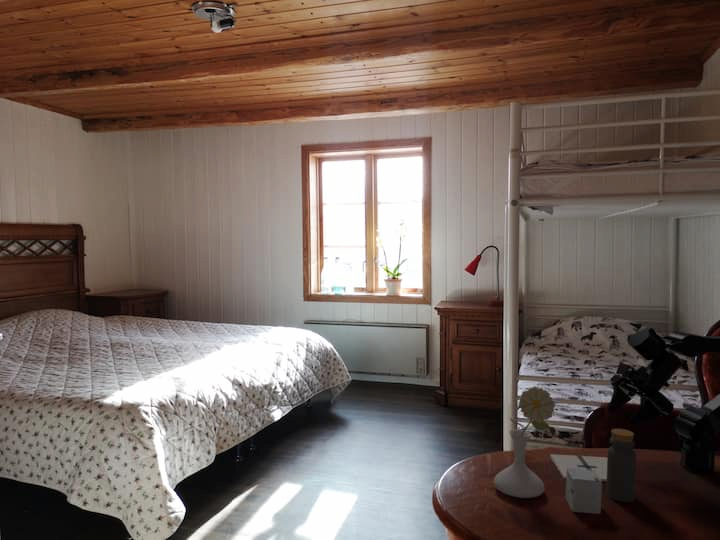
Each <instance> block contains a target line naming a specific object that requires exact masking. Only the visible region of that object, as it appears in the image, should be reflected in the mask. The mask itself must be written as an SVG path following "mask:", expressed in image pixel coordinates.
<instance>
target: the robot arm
mask: <svg viewBox="0 0 720 540" xmlns="http://www.w3.org/2000/svg"><path fill="white" fill-rule="evenodd" d="M628 346H629V347H631V348H632V350H634V351H635V352H636V353H637V354H638V355H639V356H640V357H641V358H643V360H644V361H650V362H649V363H648V364H647V365H646V366H644V365H642V366H641V364H640V365H639V364H636V365H635V366H631V365H629V364H627V363H624V362H622V361H620V362H619V363H618V367H617V369H616V372H615V374H614V375H613V376H612V377H610V379H609V381H610V382H611V383H610V385H611V386H612V389H613V390H612V391H613V392H612V397H610V398H611V399H610V401H609V404H608V406H607V409H606V413H608V414H613V413H614V412H616V411H617V410H619V409H620V408H621V407H624V406H625V405H626V404H627V403H629V402H631V401H632V400H633V397H635V396H639V397H640V400H639V405H638V407H637V408H636V409H635V411H634V412H633V414H632V415H631V416H630V418H629V419H628V421H627V424H628V425H629V426H634V425H637V424H639V423H642V422H645V421H647V420H649V419H650V420H651V419H652V418H656V417H660V416H662V417H663V416H664V415H667V416H670V414H671V413H672V412H674V410H675V408H674V403H673V402H672V401H671V400H670V399H668V397H666V395H664V393H662V392H661V390H662V388H668V387H669V386H670V383H669V381H670V379H672V377H673V376H674V375H675V374H676V372H677V371H679V370H681V371H685V372H688V371H690V370H689V365H688V360H687V359H684V358H680V357H679V356H678V355H680V356H683V357H686V358H696V357H701V356H704V355H707V354H709V353H720V335H719V336H717V335H715V336H713V335H699V334H696V333H695V334H694V333H689V332H684V331H679V330H675V331H672V332H670V334H668V335H665V336H660V335H659V334H658V333H657V332H656V330H655V329H653V327H649V326H646V327H644V328H643V329H641V330H638V331H637V332H635V333H633V334H632V335H631V336H630V338H629V339H628ZM668 350H669V351H668ZM719 425H720V393H719V394H718V395H716V396H715V397H713V398H712V399H710V401H708V402H707V403H705V405H703V406H701V407H696V406H694V405H691V404H689V405H688V406H686V408H684V409H683V410H682V411H680V412H677V416H676V418H675V419H674V429H675V431H676V433H677V435H678V438H679V440H681V441H683V443H682V444H683V445H682V447H681V450H680V460H679V463H680V464H681V465H682V466H683V467H684V468H686V469H687V470H688V471H689V472H690V473H698V474H716V475H718V474H719V473H718V471H717V470H716V469H715V458H716V457H715V456H716V452H720V439H719V438H718V437H717V436H716V433H717V432H718V429H719Z"/></svg>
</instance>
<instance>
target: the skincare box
mask: <svg viewBox="0 0 720 540" xmlns="http://www.w3.org/2000/svg"><path fill="white" fill-rule="evenodd" d="M565 480H566V481H565V482H566V483H565V500H566V502H567V504H568V505H569V508H570V510H571V512H573V513H574V512H575V513H583V514H584V513H585V514H586V513H587V514H596V515H601V513H602V510H601V509H602V508H601V507H602V490H603V489H602V488H603V481H601V479H600V478H599V476H598V475H597V473H596V472H595V471H594V470H589V469H577V468H567V476H566V479H565Z"/></svg>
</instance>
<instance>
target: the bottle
mask: <svg viewBox="0 0 720 540" xmlns="http://www.w3.org/2000/svg"><path fill="white" fill-rule="evenodd" d="M634 436H635V433H634V432H633V431H631V430H628V429H624V428H613V429H611V437H610V438H609V443H610V444H611V446H609V447H608V448H607V482H606V490H605V491H606V496H607V497H608V498H609V499H611V500H614V501H617V502H621V503H630V502H631V503H632V502H633V501H635V494H636V473H637V472H636V471H637V470H636V469H637V468H636V467H637V453H636V451H635V450H634V449H633V448H634V447H635V445H636V442H635V440H634Z"/></svg>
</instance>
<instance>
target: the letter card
mask: <svg viewBox="0 0 720 540" xmlns="http://www.w3.org/2000/svg"><path fill="white" fill-rule="evenodd" d="M549 457H550V458H551V460H552V462H553V463H554V465H555V467H556V466H557V467H556V468H557V470H558V471H560V472H559V473H560V475H561V476H563V477H562V478H563V479H564V480H566V476H567V468H577V469H589V470H594V471H595V472H596V473H597V475H598V476H599V478H600V479H601V481H602V482H604V481H605V482H606V483H607V457H608V456H607V457H605V456H590V455H589V456H587V455H573V454H572V455H571V454H566V455H565V454H550V455H549Z"/></svg>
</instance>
